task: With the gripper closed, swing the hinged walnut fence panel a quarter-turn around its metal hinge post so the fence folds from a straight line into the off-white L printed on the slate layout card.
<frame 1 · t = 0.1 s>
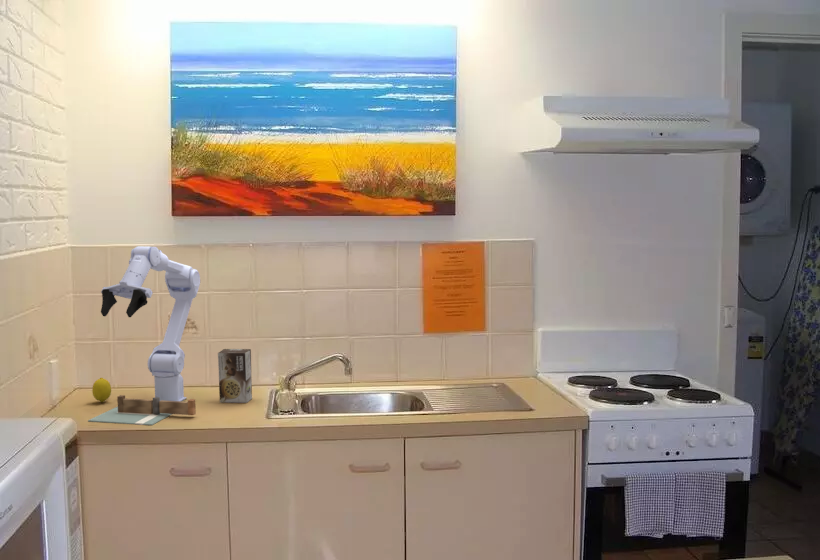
hand: (115, 314, 223), 32 cm above the worktop, tool tilted 50°, fingers open, 7 cm apart
fixed fence section: (156, 415, 239), resting on layout card
lemon: (102, 403, 253), on the worktop
layout card: (138, 414, 240), on the worktop
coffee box: (235, 400, 256), on the worktop
hinged fence panel: (177, 406, 237), point 3 cm above the worktop, hinge at 0.0°
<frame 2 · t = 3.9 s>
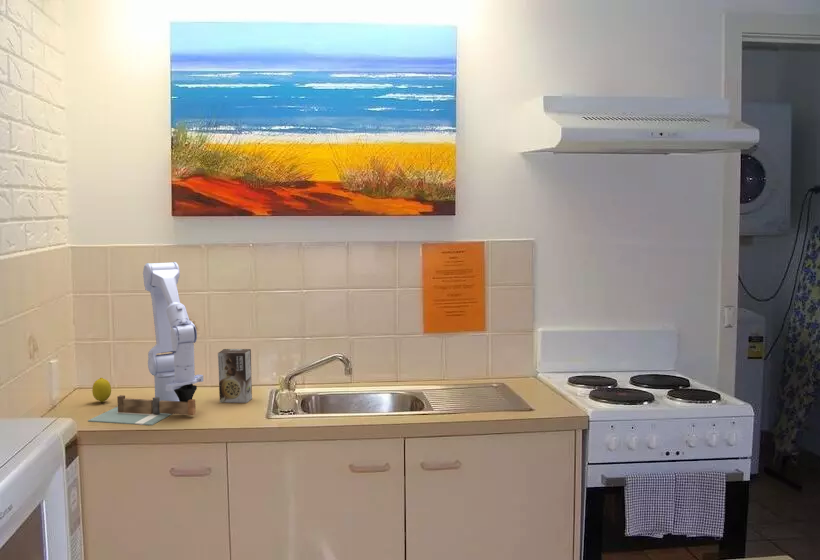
hand: (185, 410, 239), 1 cm above the worktop, tool pointing down, fingers closed, pressing on hinged fence panel
hinged fence panel: (177, 406, 237), point 3 cm above the worktop, hinge at -0.1°, touching gripper
everything else where it was.
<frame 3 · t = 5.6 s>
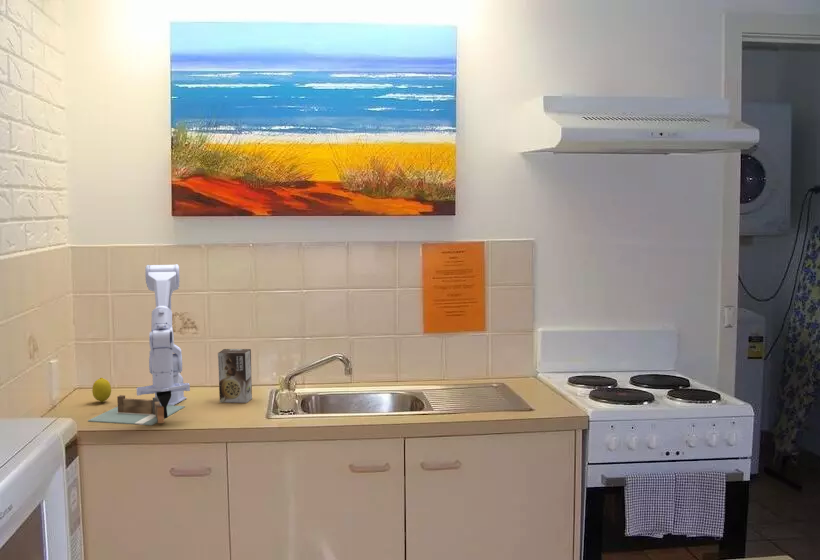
hand: (164, 417, 231), 1 cm above the worktop, tool pointing down, fingers closed, pressing on hinged fence panel
hinged fence panel: (158, 410, 232), point 3 cm above the worktop, hinge at -55.6°, touching gripper
everything else where it was.
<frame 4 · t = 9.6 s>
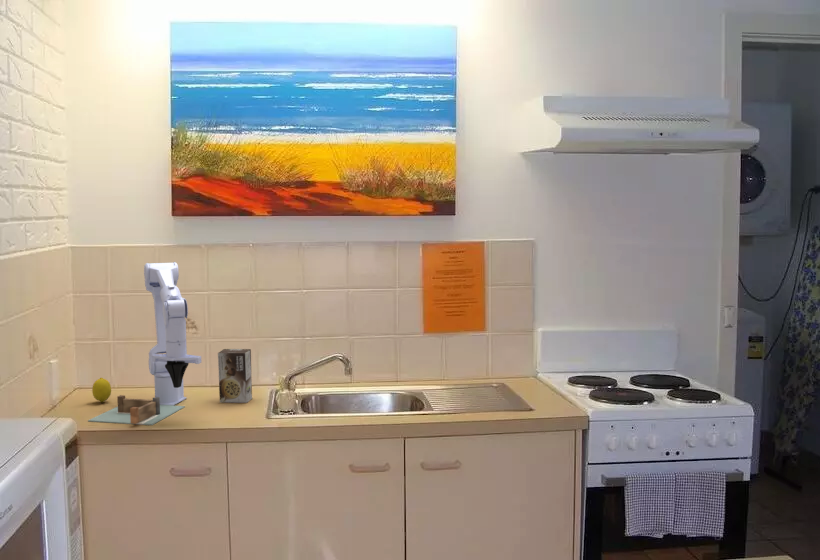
hand: (177, 386, 234), 9 cm above the worktop, tool pointing down, fingers closed
hinged fence panel: (143, 411, 232), point 3 cm above the worktop, hinge at -92.9°
everything else where it was.
at the end: hinged fence panel at -93° (first picture: +0°); lemon moved 0.2 cm from its start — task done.
